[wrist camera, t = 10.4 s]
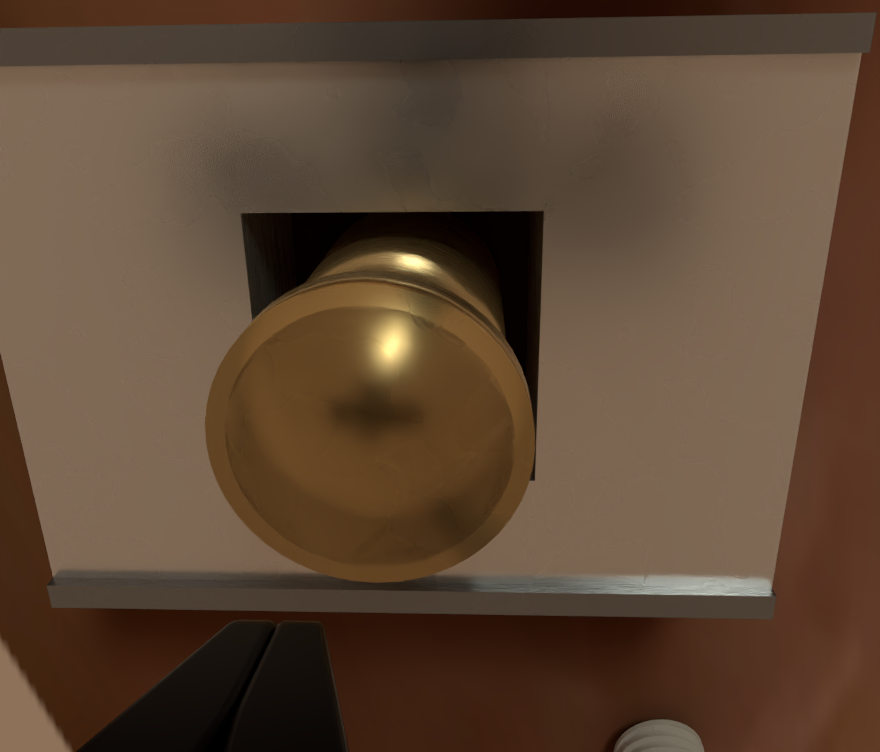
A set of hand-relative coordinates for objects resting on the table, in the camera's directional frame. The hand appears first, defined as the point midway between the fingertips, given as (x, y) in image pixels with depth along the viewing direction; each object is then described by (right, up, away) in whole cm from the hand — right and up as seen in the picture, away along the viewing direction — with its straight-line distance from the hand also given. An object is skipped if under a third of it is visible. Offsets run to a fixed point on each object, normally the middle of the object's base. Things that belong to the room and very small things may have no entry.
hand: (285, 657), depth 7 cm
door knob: (+1, +5, +12) cm, 13 cm away
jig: (+1, +5, +12) cm, 13 cm away
